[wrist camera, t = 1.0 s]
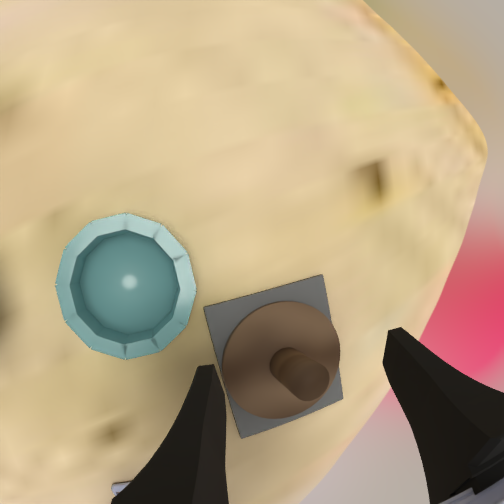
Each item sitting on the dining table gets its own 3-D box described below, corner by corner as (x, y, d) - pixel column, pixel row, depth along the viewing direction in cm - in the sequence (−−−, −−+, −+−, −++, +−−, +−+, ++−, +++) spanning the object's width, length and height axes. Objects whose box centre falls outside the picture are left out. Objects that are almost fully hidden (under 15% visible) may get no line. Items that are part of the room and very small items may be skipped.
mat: (341, 397, 27) (343, 398, 27) (240, 436, 24) (241, 438, 24) (320, 274, 26) (322, 274, 26) (203, 307, 24) (204, 307, 23)
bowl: (201, 327, 24) (209, 339, 20) (90, 353, 21) (80, 369, 18) (174, 209, 23) (176, 201, 20) (60, 237, 21) (45, 233, 17)
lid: (341, 389, 27) (375, 410, 22) (238, 430, 24) (257, 463, 19) (325, 286, 26) (361, 291, 21) (207, 320, 23) (221, 336, 18)
